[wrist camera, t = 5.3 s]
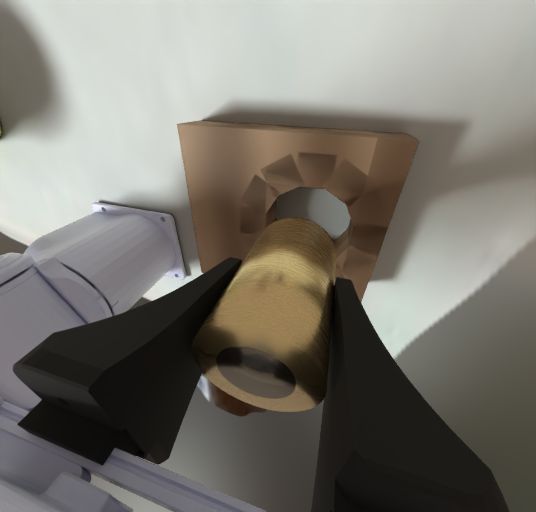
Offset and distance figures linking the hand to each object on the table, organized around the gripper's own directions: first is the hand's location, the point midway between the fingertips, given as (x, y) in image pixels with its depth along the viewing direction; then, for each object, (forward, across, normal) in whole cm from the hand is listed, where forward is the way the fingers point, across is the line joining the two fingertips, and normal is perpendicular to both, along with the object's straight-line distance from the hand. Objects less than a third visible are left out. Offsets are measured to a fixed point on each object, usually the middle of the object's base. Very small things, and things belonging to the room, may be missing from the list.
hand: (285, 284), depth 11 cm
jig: (+9, +2, 0) cm, 10 cm away
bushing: (+2, 0, 0) cm, 2 cm away
